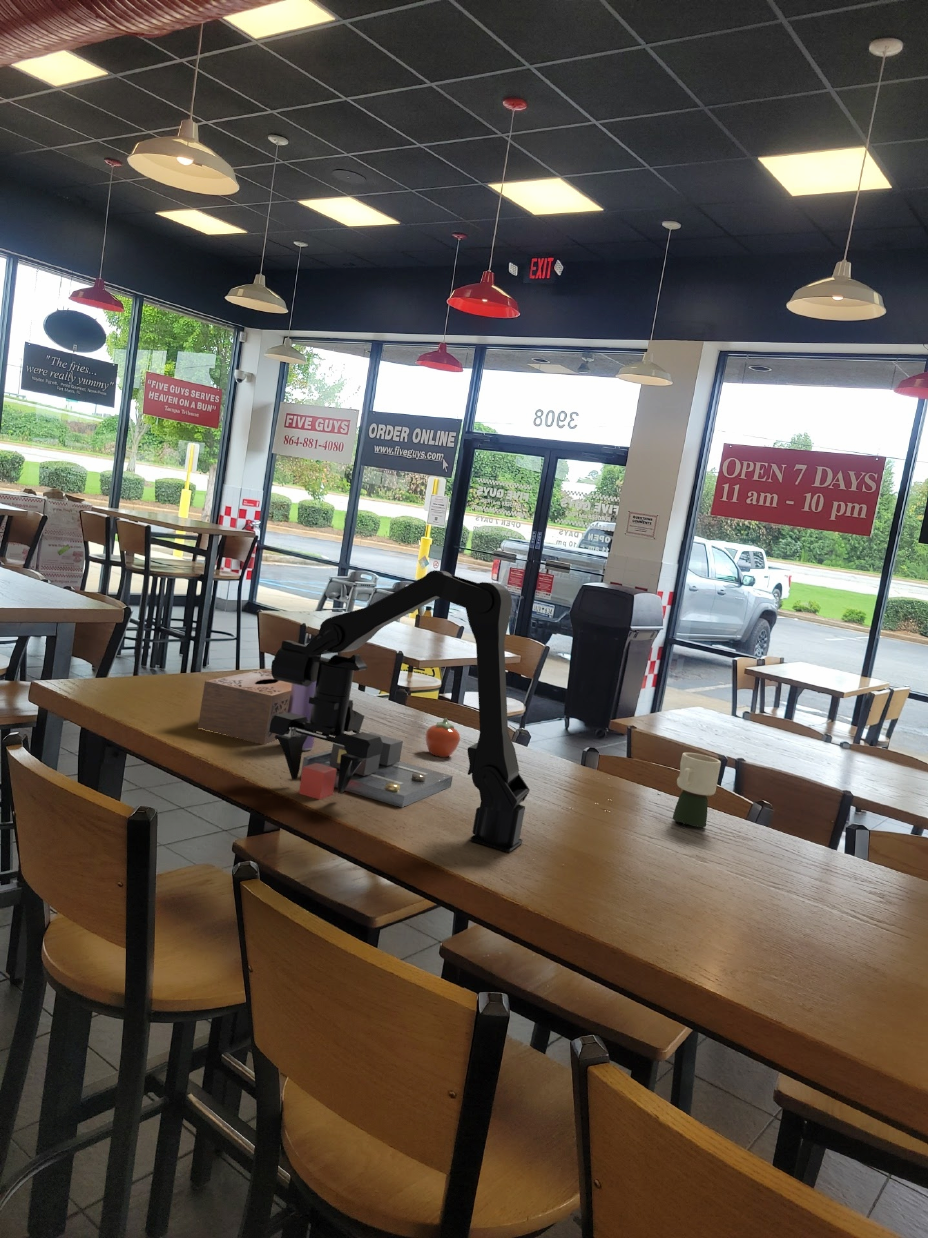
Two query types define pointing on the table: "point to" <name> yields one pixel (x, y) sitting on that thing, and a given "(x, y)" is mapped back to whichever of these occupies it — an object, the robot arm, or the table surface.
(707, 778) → the character mug
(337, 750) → the block
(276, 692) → the tissue box cover
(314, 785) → the cap
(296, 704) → the beverage can
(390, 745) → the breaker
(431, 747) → the tomato
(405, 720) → the table surface
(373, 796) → the breaker panel
